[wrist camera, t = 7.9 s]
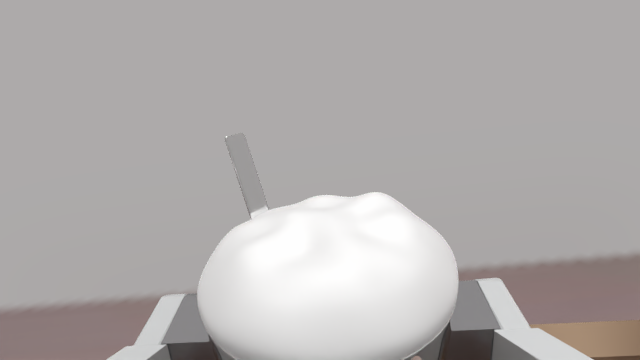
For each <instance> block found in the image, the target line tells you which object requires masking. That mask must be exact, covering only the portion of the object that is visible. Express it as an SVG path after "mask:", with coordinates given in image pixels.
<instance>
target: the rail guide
mask: <svg viewBox="0 0 640 360" xmlns="http://www.w3.org/2000/svg"><path fill="white" fill-rule="evenodd" d="M529 326H530V327H531V328H539V329H541V330H543V331H545V332H546V333H548V334H550V335H552V336H553V337H555V338H557V339H559V340H560V341H562V342H564V343H565V344H567V345H569V346H571V347H572V348H574V349H576V350H578V351H579V352H581V353H583V354H585V355H586V356H588V357H590V358H592V359H593V360H640V320H628V321H606V322H583V323H561V324H539V325H529Z"/></svg>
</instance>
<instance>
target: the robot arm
mask: <svg viewBox="0 0 640 360" xmlns="http://www.w3.org/2000/svg"><path fill="white" fill-rule="evenodd" d="M458 282H459V283H458V296H457V300H456V308H455V314H454V320H453V325H452V331H451V337H450V343H449V348H448V354H447V360H593V359H592V358H590V357H588V356H586V355H585V354H583V353H581V352H579V351H578V350H576V349H574V348H572V347H571V346H569V345H567V344H565V343H564V342H562V341H560V340H559V339H557V338H555V337H553V336H552V335H550V334H548V333H546V332H545V331H543V330H541V329H539V328H531V327H530V326H529V324H528V322H527V321H526V319H525V318H524V316H523V314H522V313H521V311H520V309H519V308H518V306H517V304H516V303H515V301H514V300H513V298H512V296H511V295H510V293H509V291H508V290H507V288H506V286H505V285H504V283H503V282H502V280H501V279H499V278H488V279H476V280H471V281H458ZM107 360H216V358H215V355H214V353H213V350H212V347H211V344H210V341H209V339H208V336H207V333H206V330H205V327H204V324H203V321H202V319H201V316H200V312H199V309H198V302H197V293H196V294H172V295H165V296H163V297H162V298H161V299H160V301H159V302H158V304H157V306H156V307H155V309H154V311H153V313H152V314H151V316H150V318H149V320H148V321H147V323H146V325H145V326H144V328H143V330H142V332H141V333H140V335H139V337H138V339H137V340H136V342H135V344H134V346H126V347H124V348H123V349H121V350H120V351H119V352H117V353H116V354H114V355H113V356H111V357H110V358H108V359H107Z"/></svg>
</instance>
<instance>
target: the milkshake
mask: <svg viewBox="0 0 640 360" xmlns="http://www.w3.org/2000/svg"><path fill="white" fill-rule="evenodd" d="M225 142H226V145H227V148H228V151H229V154H230V157H231V160H232V163H233V166H234V169H235V172H236V175H237V178H238V181H239V184H240V188H241V191H242V194H243V197H244V200H245V202H246V206H247V209H248V211H249V215H250V218H251V220H249V221H247V222H244V223H242V224H240V225H238V226H236V227H234V228H233V229H232V230H231V231H229V232H228V234H226V235H225V237H224V238H223V239H222V240H221V242H220V243H219V244H218V246H217V247H216V249H215V250H214V252H213V254H212V255H211V257H210V259H209V260H208V262H207V264H206V266H205V268H204V270H203V273H202V275H201V278H200V281H199V285H198V291H197V302H198V309H199V312H200V316H201V319H202V321H203V324H204V327H205V330H206V333H207V336H208V339H209V341H210V344H211V347H212V350H213V353H214V355H215V358H216V360H447V354H448V348H449V343H450V337H451V331H452V325H453V320H454V314H455V308H456V300H457V296H458V283H459V282H458V269H457V264H456V260H455V257H454V255H453V252H452V250H451V248H450V247H449V245H448V244H447V242H446V241H445V239H444V238H443V237H442V236H441V235H440V234H439V233H438V232H437V231H436V230H435V229H434V228H432V227H431V226H430V225H429V224H427V223H426V222H425V221H423V220H422V219H420V218H419V217H418V216H416V215H415V214H414V213H412V212H411V211H410V210H409V209H407V208H406V207H405V206H404V205H402V204H401V203H400V202H398V201H397V200H395V199H394V198H392V197H390V196H389V195H386V194H384V193H380V192H371V193H366V194H363V195H360V196H356V197H341V196H333V195H319V196H315V197H311V198H309V199H306V200H304V201H302V202H299V203H296V204H293V205H289V206H284V207H279V208H275V209H271V210H269V208H268V205H267V201H266V199H265V196H264V192H263V189H262V186H261V184H260V180H259V177H258V174H257V171H256V168H255V165H254V162H253V159H252V156H251V153H250V150H249V147H248V144H247V141H246V138H245V136H244V134H243V133H239V134H235V135H231V136H227V137H226V138H225Z"/></svg>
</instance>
